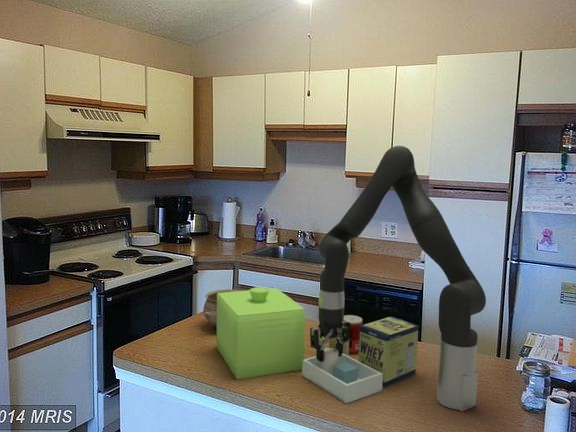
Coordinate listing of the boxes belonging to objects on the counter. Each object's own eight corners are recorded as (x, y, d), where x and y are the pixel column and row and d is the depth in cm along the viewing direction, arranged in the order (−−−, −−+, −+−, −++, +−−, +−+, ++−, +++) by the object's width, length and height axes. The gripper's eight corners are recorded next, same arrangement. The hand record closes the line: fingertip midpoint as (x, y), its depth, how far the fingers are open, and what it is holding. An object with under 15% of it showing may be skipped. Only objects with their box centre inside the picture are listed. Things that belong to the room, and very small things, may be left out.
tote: (382, 390, 139) (382, 373, 138) (346, 403, 131) (346, 385, 130) (336, 365, 155) (337, 350, 154) (302, 375, 147) (302, 359, 146)
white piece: (330, 368, 151) (331, 346, 150) (341, 374, 147) (341, 352, 146) (317, 372, 148) (318, 350, 147) (328, 378, 144) (328, 355, 143)
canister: (216, 348, 166) (216, 281, 164) (275, 340, 174) (276, 277, 172) (236, 379, 143) (237, 303, 141) (303, 369, 151) (305, 297, 149)
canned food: (360, 346, 171) (362, 315, 170) (361, 355, 163) (363, 323, 162) (338, 344, 172) (339, 314, 170) (338, 353, 164) (340, 322, 163)
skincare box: (337, 355, 163) (338, 319, 161) (348, 358, 160) (350, 322, 159) (327, 361, 157) (328, 325, 156) (339, 365, 155) (340, 328, 153)
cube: (357, 384, 141) (357, 367, 140) (343, 388, 138) (344, 371, 137) (345, 377, 145) (346, 361, 144) (332, 381, 142) (333, 365, 142)
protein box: (357, 374, 149) (359, 325, 147) (389, 361, 159) (392, 315, 157) (384, 387, 141) (386, 335, 139) (416, 373, 151) (419, 324, 149)
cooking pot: (230, 313, 202) (231, 284, 201) (267, 323, 192) (268, 292, 190) (186, 330, 182) (186, 298, 180) (225, 342, 171) (226, 308, 170)
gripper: (341, 297, 152) (339, 349, 154) (304, 304, 144) (302, 359, 146) (358, 304, 146) (355, 357, 148) (320, 311, 137) (318, 368, 140)
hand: (329, 358), depth 147 cm, fingers open, 6 cm apart
